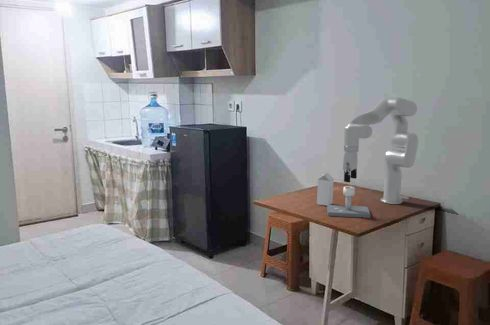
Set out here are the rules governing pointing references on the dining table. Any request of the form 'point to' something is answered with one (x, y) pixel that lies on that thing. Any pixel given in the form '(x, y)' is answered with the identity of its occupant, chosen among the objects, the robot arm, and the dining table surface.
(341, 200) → the dining table surface
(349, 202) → the post stand
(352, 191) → the white rounded lump
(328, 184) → the milk carton
